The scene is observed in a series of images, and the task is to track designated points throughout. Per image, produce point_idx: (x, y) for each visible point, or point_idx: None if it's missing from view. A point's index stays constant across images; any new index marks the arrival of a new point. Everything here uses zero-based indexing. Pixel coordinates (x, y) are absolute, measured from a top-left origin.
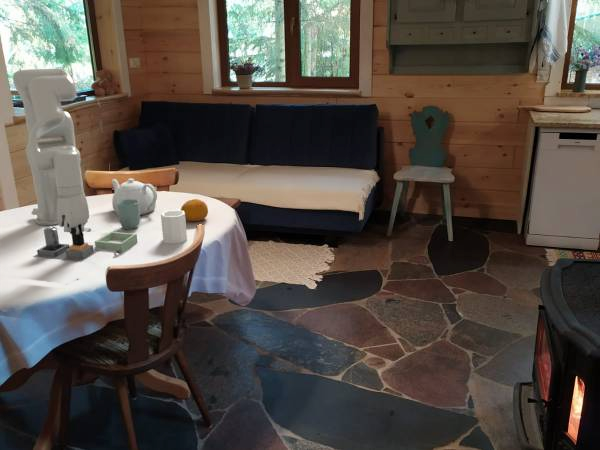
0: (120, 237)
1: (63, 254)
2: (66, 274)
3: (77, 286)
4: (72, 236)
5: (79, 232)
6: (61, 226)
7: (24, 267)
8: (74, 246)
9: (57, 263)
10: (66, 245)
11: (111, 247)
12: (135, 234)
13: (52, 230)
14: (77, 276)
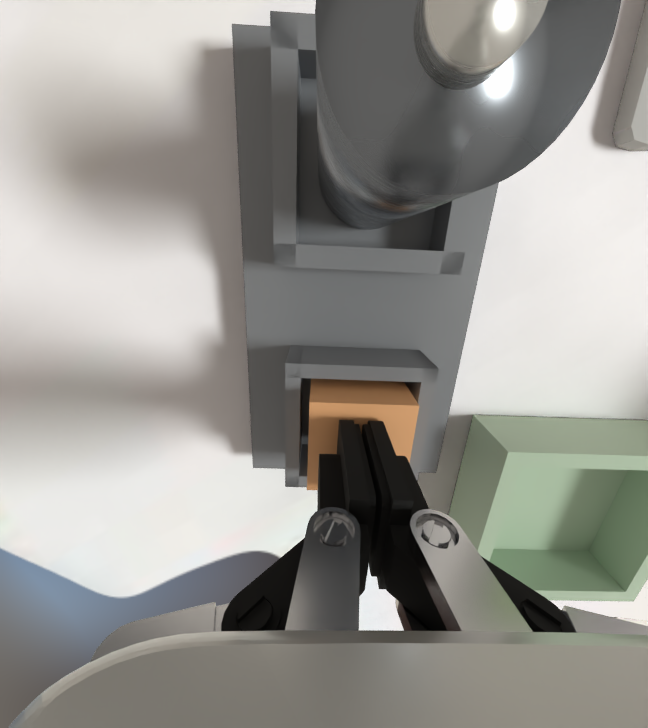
0: (636, 498)
1: (331, 293)
2: (126, 444)
3: (48, 550)
4: (319, 500)
5: (384, 569)
6: (109, 671)
7: (83, 83)
8: (308, 444)
9: (236, 303)
10: (437, 265)
11: (463, 525)
12: (624, 600)
13: (384, 156)
14: (131, 501)
